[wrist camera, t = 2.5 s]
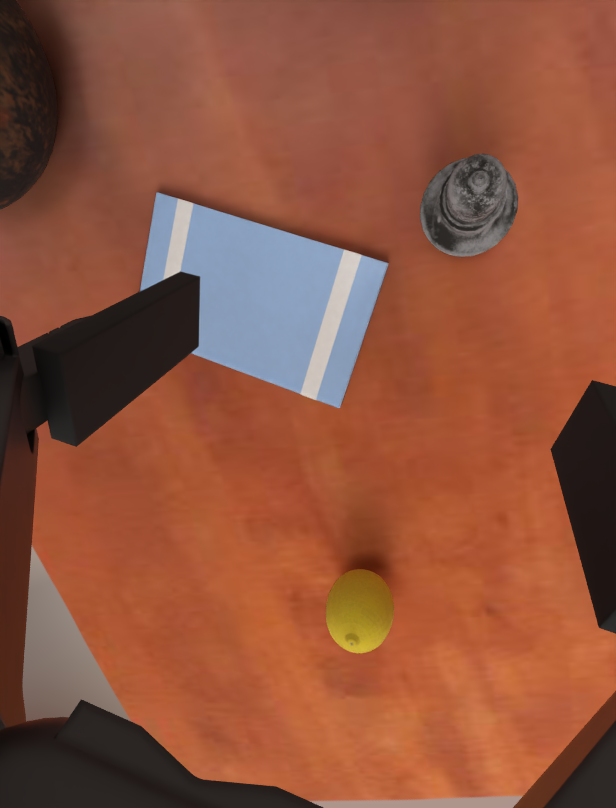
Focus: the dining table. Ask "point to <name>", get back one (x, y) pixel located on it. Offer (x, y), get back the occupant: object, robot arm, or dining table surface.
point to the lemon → (359, 611)
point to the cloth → (268, 296)
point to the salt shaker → (469, 206)
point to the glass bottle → (23, 105)
